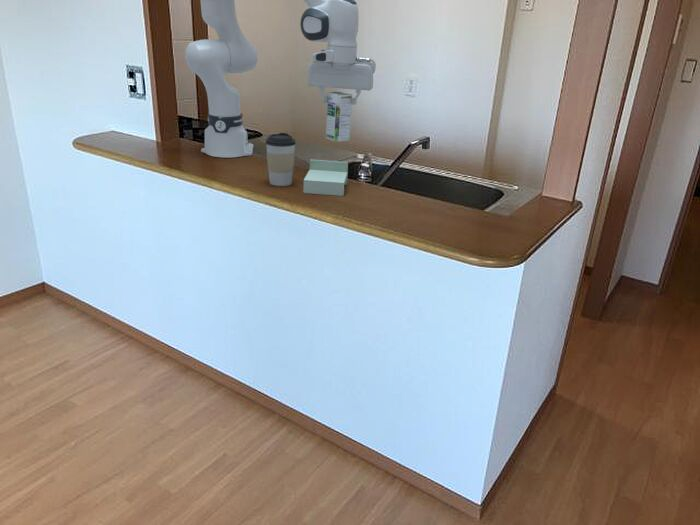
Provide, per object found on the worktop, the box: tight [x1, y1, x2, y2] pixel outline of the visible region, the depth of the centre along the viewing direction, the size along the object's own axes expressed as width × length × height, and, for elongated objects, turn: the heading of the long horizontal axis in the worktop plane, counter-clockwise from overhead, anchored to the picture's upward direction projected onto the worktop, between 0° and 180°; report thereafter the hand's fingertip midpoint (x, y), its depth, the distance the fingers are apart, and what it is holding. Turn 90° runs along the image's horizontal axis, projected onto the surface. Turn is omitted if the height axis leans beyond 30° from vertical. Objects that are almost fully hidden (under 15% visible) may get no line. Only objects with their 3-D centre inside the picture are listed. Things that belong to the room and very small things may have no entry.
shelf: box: [302, 159, 349, 197], centre depth 169 cm, size 13×12×7 cm
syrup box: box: [325, 91, 353, 143], centre depth 174 cm, size 6×6×14 cm
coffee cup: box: [265, 132, 296, 187], centre depth 170 cm, size 9×9×15 cm
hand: (339, 103), depth 172 cm, fingers closed on syrup box, 8 cm apart
